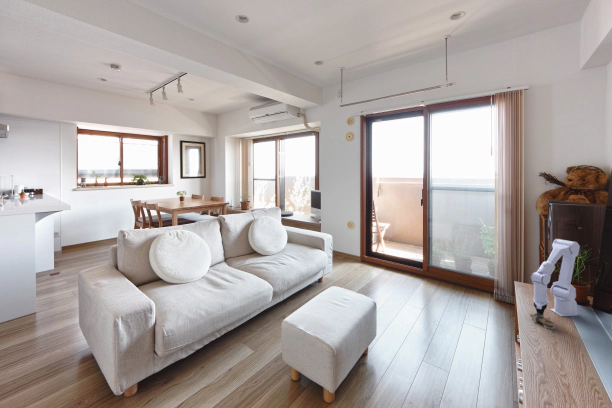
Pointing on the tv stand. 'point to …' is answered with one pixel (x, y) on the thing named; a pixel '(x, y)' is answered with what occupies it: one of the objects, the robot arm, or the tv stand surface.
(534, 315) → the block
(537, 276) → the robot arm
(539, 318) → the link
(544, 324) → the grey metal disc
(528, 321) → the tv stand surface
